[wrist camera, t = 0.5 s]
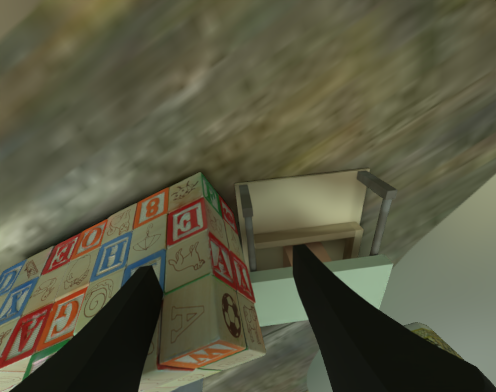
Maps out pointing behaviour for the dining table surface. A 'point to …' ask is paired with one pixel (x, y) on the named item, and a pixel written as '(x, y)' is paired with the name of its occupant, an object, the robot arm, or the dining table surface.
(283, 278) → the lid
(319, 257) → the block
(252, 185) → the grey frame
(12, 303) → the stack of blocks
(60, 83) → the dining table surface
